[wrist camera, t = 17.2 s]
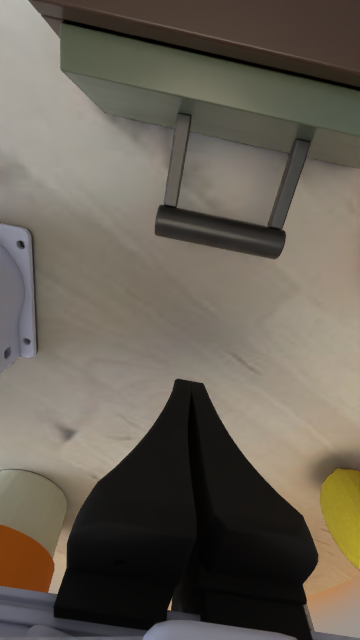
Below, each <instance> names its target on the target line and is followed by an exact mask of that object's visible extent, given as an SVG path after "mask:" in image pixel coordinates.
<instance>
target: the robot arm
mask: <svg viewBox="0 0 360 640" xmlns="http://www.w3.org/2000/svg"><path fill="white" fill-rule="evenodd" d="M21 241H23V242H24V244H25V248H23V247H22V246H21V244H20V242H21ZM26 338H27V339H29V340H30V342H29V341H27V339H26ZM36 353H37V348H36V325H35V303H34V281H33V259H32V237H31V234H30V232H29V231H28V230H27V229H25V228H23V227H18V226H13V225H8V224H3V223H0V374H1V373H3V372H4V371H5V370H6V369H7V368H8V367H9V366H10V365H11V364H13V363H14V362H15V361H16V360H17V359H18V358H19V357H24V358H33V357H34V356H35V355H36ZM317 563H318V553H317V550H316V547H315V544H314V541H313V539H312V536H311V533H310V531H309V529H308V526H307V524H306V522H305V520H304V517H303V516H302V515H301V514H300V513H299V512H298V511H297V510H296V509H295V508H294V507H292V506H291V505H290V504H289V503H288V502H287V501H286V500H285V499H284V498H282V497H281V496H280V495H279V494H278V493H277V492H276V491H275V490H274V489H273V488H272V487H271V486H270V485H269V484H268V483H267V482H266V481H265V479H264V478H263V477H262V476H261V475H260V474H259V473H258V472H257V470H256V469H255V468H254V467H253V466H252V465H251V463H250V462H249V461H248V460H247V459H246V457H245V456H244V455H243V454H242V452H241V451H240V449H239V448H238V447H237V445H236V444H235V442H234V441H233V439H232V438H231V436H230V435H229V433H228V432H227V430H226V428H225V427H224V425H223V423H222V421H221V420H220V418H219V416H218V414H217V412H216V410H215V408H214V406H213V404H212V402H211V400H210V398H209V395H208V393H207V391H206V388H205V386H204V384H203V383H199V382H193V381H188V380H182V379H176V380H175V382H174V386H173V391H172V393H171V395H170V398H169V400H168V402H167V403H166V405H165V407H164V409H163V411H162V412H161V414H160V415H159V417H158V419H157V420H156V422H155V423H154V425H153V426H152V427H151V429H150V430H149V431H148V433H147V434H146V435H145V436H144V438H143V439H142V440H141V441H140V442H139V444H138V445H137V446H136V447H135V448H134V449H133V450H132V451H131V452H130V453H129V454H128V455H127V456H126V457H125V458H124V459H123V460H122V461H121V462H120V463H119V464H118V465H117V466H116V467H115V468H114V469H113V470H111V471H110V472H109V473H108V474H107V475H106V476H104V477H103V478H102V479H101V480H100V481H98V482H97V484H96V485H95V487H94V488H93V490H92V491H91V493H90V494H89V496H88V497H87V499H86V500H85V502H84V504H83V505H82V507H81V509H80V511H79V513H78V515H77V517H76V519H75V522H74V524H73V527H72V530H71V533H70V535H69V539H68V542H67V568H66V571H65V575H64V577H63V580H62V583H61V586H60V589H59V592H58V594H52V593H46V592H39V591H32V590H25V589H18V588H11V587H4V586H0V640H360V638H354V637H348V636H341V635H334V634H327V633H320V632H314V631H310V628H309V624H308V620H307V617H306V613H305V609H304V606H303V605H305V604H306V603H307V602H306V601H307V600H306V595H305V592H304V588H303V583H304V582H305V581H306V579H307V578H308V577H309V576H310V574H311V573H312V572H313V571H314V569H315V567H316V565H317ZM171 599H172V606H171V611H169V610H167V609H168V607H169V604H170V601H171Z"/></svg>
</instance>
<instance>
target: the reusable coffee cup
mask: <svg viewBox="0 0 360 640" xmlns="http://www.w3.org/2000/svg"><path fill="white" fill-rule="evenodd" d="M67 504H68V503H67V499H66V497H65V495H64V493H63V492H62V491H61V489H60V488H59V487H58V486H56V485H55V484H54V483H53V482H51V481H50V480H48V479H46V478H44V477H42V476H40V475H38V474H35V473H31V472H28V471H22V470H2V471H0V586H4V587H11V588H18V589H25V590H32V591H39V592H46V593H48V591H49V587H50V583H51V579H52V576H53V573H54V562H53V556H54V552H55V549H56V545H57V542H58V538H59V535H60V532H61V528H62V525H63V521H64V518H65V514H66V511H67Z"/></svg>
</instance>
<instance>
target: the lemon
mask: <svg viewBox="0 0 360 640" xmlns="http://www.w3.org/2000/svg"><path fill="white" fill-rule="evenodd" d="M320 504H321V509H322V513H323V516H324V519H325V522H326V525H327V527H328V530H329V532H330V534H331V535H332V537H333V539H334V541H335V542H336V544H337V545H338V547H339V549H340V550H341V551H342V553H343V554H344V555H345V556H346V558H347V559H348V560H349V561H350V562H351V563H352V564H353V565H354V566H355V567H356V568H357V569H359V570H360V471H356V470H349V469H344V470H343V469H340V468H337V469H335V470H334V472H333V473H332V474H330V475H329V476H328V477H327V478H326V479H325V481H324V483H323V485H322V488H321V494H320Z"/></svg>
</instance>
